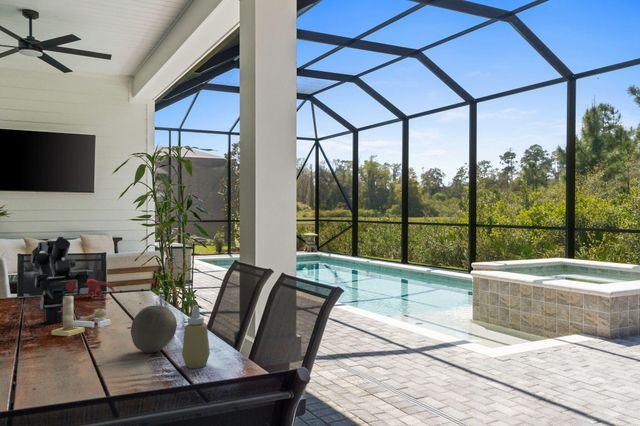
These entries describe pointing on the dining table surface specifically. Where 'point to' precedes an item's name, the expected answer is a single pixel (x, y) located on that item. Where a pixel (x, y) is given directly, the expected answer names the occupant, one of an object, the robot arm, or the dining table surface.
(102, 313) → the figurine
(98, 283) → the red toy dinosaur
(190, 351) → the squeeze bottle
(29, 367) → the dining table surface
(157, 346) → the grey egg-shaped stone
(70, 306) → the post
